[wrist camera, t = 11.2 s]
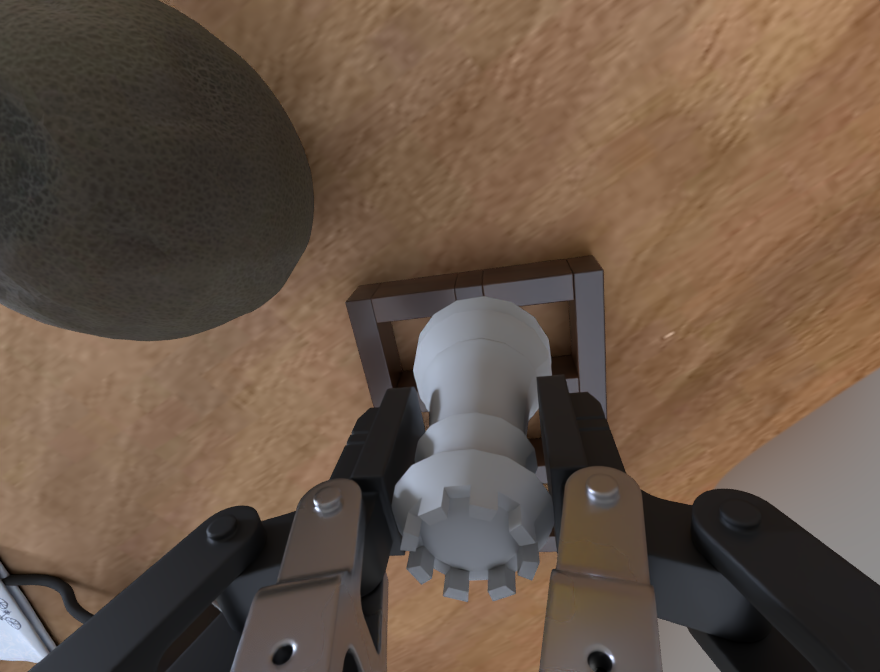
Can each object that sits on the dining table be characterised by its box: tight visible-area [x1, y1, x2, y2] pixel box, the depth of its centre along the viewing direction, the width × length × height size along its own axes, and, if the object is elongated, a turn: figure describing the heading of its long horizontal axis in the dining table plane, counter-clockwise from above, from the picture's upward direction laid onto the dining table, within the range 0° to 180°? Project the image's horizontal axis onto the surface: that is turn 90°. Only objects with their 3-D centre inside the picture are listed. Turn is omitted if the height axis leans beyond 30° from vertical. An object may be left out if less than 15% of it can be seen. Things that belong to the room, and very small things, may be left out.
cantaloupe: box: [0, 0, 314, 341], centre depth 21 cm, size 14×14×15 cm
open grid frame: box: [345, 255, 607, 552], centre depth 31 cm, size 15×21×3 cm
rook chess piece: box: [391, 296, 555, 602], centre depth 12 cm, size 4×4×8 cm
